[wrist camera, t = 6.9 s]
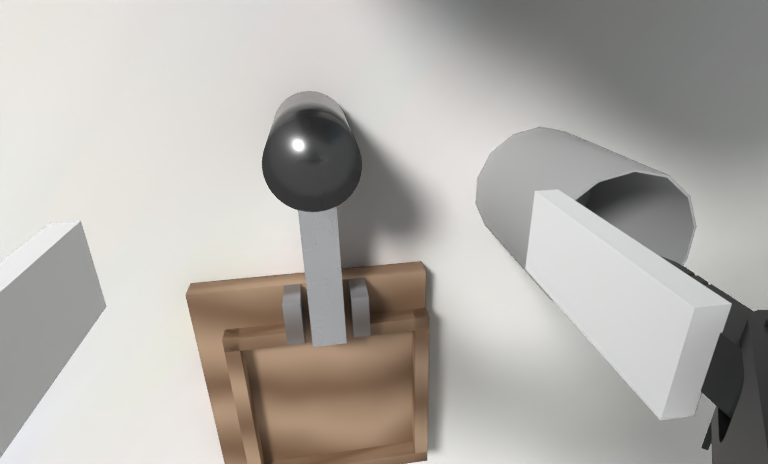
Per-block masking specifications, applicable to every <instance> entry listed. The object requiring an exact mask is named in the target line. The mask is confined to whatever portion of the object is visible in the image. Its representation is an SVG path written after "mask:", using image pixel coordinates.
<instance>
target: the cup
mask: <svg viewBox="0 0 768 464" xmlns="http://www.w3.org/2000/svg"><path fill="white" fill-rule="evenodd" d="M556 189H558V190H560V191H561V192H563V193H564V194H566V195H567V196H569V197H570V198H572V199H573V200H575V201H577V202H578V203H580V204H581V205H583V206H584V207H586V208H587V209H589V210H590V211H592V212H593V213H595V214H596V215H598V216H599V217H601V218H602V219H604V220H605V221H607V222H608V223H610V224H611V225H613V226H614V227H616V228H618V229H619V230H621V231H622V232H624V233H625V234H627V235H628V236H630V237H631V238H633V239H634V240H636V241H637V242H639V243H640V244H642V245H643V246H645V247H646V248H648V249H649V250H651V251H652V252H654V253H655V254H657V255H660V256H662V257H665V258H667V259H670V260H672V261H675V262H677V263H679V264H681V265H683V264H684V263H685V261H686V260H687V258H688V254H689V251H690V247H691V244H692V240H693V236H694V233H695V229H696V222H695V217H694V213H693V208H692V203H691V198H690V196H689V195H688V194H687V193H686V192H685V191H684V190H683V189H682V188H681V187H680V186H679V185H678V184H677V183H676V182H675V181H674V180H673V179H672V178H671V177H670V176H669V175H667V174H664V173H662V172H660V171H657V170H655V169H653V168H650V167H648V166H645V165H643V164H641V163H638V162H636V161H634V160H631V159H629V158H626V157H624V156H622V155H619V154H617V153H615V152H612V151H610V150H607V149H605V148H603V147H600V146H598V145H596V144H593V143H591V142H588V141H586V140H584V139H581V138H579V137H577V136H574V135H572V134H569V133H567V132H564V131H559V130H554V129H549V128H544V127H538V128H534V129H531V130H527V131H524V132H520V133H516V134H513V135H512V136H511V137H510V138H508V139H507V140H506V141H505V142H503V143H502V144H501V145H500V146H499V147H497V148H496V149H495V150H494V151H492V152H491V153H490V155H489V157H488V159H487V161H486V163H485V165H484V166H483V168H482V170H481V172H480V174H479V176H478V178H477V190H476V206H477V208H478V210H479V213H480V215H481V217H482V219H483V222H484V224H485V226H486V227H487V228H488V229H489V230H490V231H491V232H492V234H493V235H494V236H495V237H496V238H497V239H498V240H499V241H500V243H501V244H502V245H503V246H504V247H505V248H506V249H507V251H508V252H509V253H510V254H511V255H512V256H513V257H514V258H515V260H516V261H517V262H518V263H519V264H520V265H521V266H522V267H523V269H524V270H525V271H526V269H525V267H526V259H527V251H528V243H529V234H530V226H531V218H532V210H533V202H534V194H535V191H541V190H556ZM526 272H527V271H526ZM527 273H528V272H527ZM528 274H529V273H528ZM529 275H530V274H529ZM530 276H531V275H530ZM531 278H532V279H533V280H534V278H533V277H532V276H531ZM534 281H535V280H534ZM535 282H536V281H535ZM536 283H537V282H536ZM537 284H538V283H537ZM538 286H539V287H540V288H541V289H542V290H543V288H542V287H541V286H540V285H539V284H538ZM543 291H544V290H543ZM544 292H545V291H544ZM545 293H546V292H545ZM546 295H547V296H548V297H549V298H550V299H551V297H550V296H549V295H548V294H547V293H546ZM551 300H552V299H551ZM552 301H553V300H552Z"/></svg>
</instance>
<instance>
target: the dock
mask: <svg viewBox="0 0 768 464" xmlns="http://www.w3.org/2000/svg"><path fill="white" fill-rule="evenodd" d="M341 272H342V286H343V300H344V313H345V327H346V341H347V343H345V344H336V345H328V346H319V347H313V342H312V333H311V324H310V314H309V305H308V296H307V287H306V278H305V273H294V274H284V275H273V276H263V277H252V278H242V279H232V280H221V281H211V282H200V283H191V284H190V286H189V288H188V291H187V293H186V299H187V303H188V308H189V312H190V316H191V320H192V325H193V329H194V333H195V338H196V342H197V346H198V351H199V355H200V359H201V363H202V368H203V372H204V376H205V381H206V385H207V389H208V393H209V398H210V402H211V406H212V411H213V415H214V419H215V423H216V428H217V432H218V436H219V441H220V445H221V449H222V454H223V458H224V462H225V464H406V463H413V462H420V461H426V460H427V437H428V374H429V315H428V313H427V310H426V308H425V303H426V271H425V268H424V266H423V264H422V262H421V261H420V262H409V263H399V264H388V265H378V266H368V267H357V268H347V269H341Z"/></svg>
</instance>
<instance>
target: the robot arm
mask: <svg viewBox="0 0 768 464" xmlns="http://www.w3.org/2000/svg"><path fill="white" fill-rule="evenodd" d="M525 269H526V271H527V272H528V273H529V274H530V275H531V276H532V277H533V278H534V280H535V281H536V282H537V283H538V284H539V285H540V286H541V287H542V288H543V290H544V291H545V292H546V293H547V294H548V295H549V296H550V297H551V299H552V300H553V301H554V302H555V303H556V304H557V305H558V306H559V307H560V309H561V310H562V311H563V312H564V313H565V314H566V315H567V316H568V318H569V319H570V320H571V321H572V322H573V323H574V324H575V325H576V327H577V328H578V329H579V330H580V331H581V332H582V333H583V334H584V335H585V337H586V338H587V339H588V340H589V341H590V342H591V343H592V344H593V346H594V347H595V348H596V349H597V350H598V351H599V352H600V353H601V354H602V356H603V357H604V358H605V359H606V360H607V361H608V362H609V363H610V365H611V366H612V367H613V368H614V369H615V370H616V371H617V372H618V373H619V375H620V376H621V377H622V378H623V379H624V380H625V381H626V382H627V384H628V385H629V386H630V387H631V388H632V389H633V390H634V391H635V393H636V394H637V395H638V396H639V397H640V398H641V399H642V400H643V401H644V403H645V404H646V405H647V406H648V407H649V408H650V409H651V410H652V412H653V413H654V414H655V415H656V416H657V417H658V418H659V419H660V420H661V421H662V420H669V419H676V418H684V417H691V416H694V415H695V412H696V409H697V406H698V403H699V400H700V397H701V394H702V393H703V394H705V395H706V396H707V397H708V398H709V399H710V400H711V401H712V402H713V403H714V404H715V405H716V409H715V412H714V414H713V417H712V420H711V423H710V425H709V428H708V431H707V434H706V437H705V439H704V442H703V445H702V448H703V449H706V450H708V449H709V446H710V444H711V443H712V464H768V310H757V311H755V312H754V311H752V310H750V309H749V308H747V307H746V306H744V305H743V304H741V303H740V302H738V301H737V300H735V299H733V298H732V297H730V296H729V295H727V294H726V293H724V292H723V291H721V290H719V289H718V288H716V287H715V286H713V285H712V284H711V285H708V282H707V281H705V280H704V279H702V278H701V277H699V276H698V275H697V276H695V275H694V273H693V272H691V271H690V270H688V269H687V268H685V267H684V266H682V265H681V264H679V263H677V262H675V261H672V260H670V259H667V258H665V257H662V256H660V255H657V254H655V253H654V252H652V251H651V250H649V249H648V248H646V247H645V246H643V245H642V244H640V243H639V242H637V241H636V240H634V239H633V238H631V237H630V236H628V235H627V234H625V233H624V232H622V231H621V230H619V229H618V228H616V227H614V226H613V225H611V224H610V223H608V222H607V221H605V220H604V219H602V218H601V217H599V216H598V215H596V214H595V213H593V212H592V211H590V210H589V209H587V208H586V207H584V206H583V205H581V204H580V203H578V202H577V201H575V200H573V199H572V198H570V197H569V196H567V195H566V194H564V193H563V192H561V191H560V190H558V189H556V190H541V191H535V194H534V202H533V210H532V218H531V226H530V234H529V243H528V251H527V259H526V267H525ZM105 308H106V304H105V300H104V297H103V294H102V290H101V287H100V284H99V280H98V277H97V274H96V270H95V267H94V264H93V260H92V257H91V254H90V250H89V247H88V243H87V240H86V237H85V233H84V230H83V227H82V223H81V221H71V222H56V223H50V224H48V225H47V226H46V227H44V228H43V229H42V230H41V231H39V232H38V233H37V234H36V235H34V236H33V237H32V238H31V239H29V240H28V241H27V242H25V243H24V244H23V245H22V246H20V247H19V248H18V249H17V250H15V251H14V252H13V253H11V254H10V255H9V256H8V257H6V258H5V259H4V260H3V261H1V262H0V458H1V456H2V455H3V453H4V452H5V450H6V449H7V448H8V446H9V445H10V443H11V442H12V440H13V439H14V438H15V436H16V435H17V433H18V432H19V430H20V429H21V428H22V426H23V425H24V423H25V422H26V420H27V419H28V418H29V416H30V415H31V413H32V412H33V410H34V409H35V408H36V406H37V405H38V403H39V402H40V400H41V399H42V398H43V396H44V395H45V393H46V392H47V390H48V389H49V388H50V386H51V385H52V383H53V382H54V380H55V379H56V378H57V376H58V375H59V373H60V372H61V370H62V369H63V368H64V366H65V365H66V363H67V362H68V360H69V359H70V358H71V356H72V355H73V353H74V352H75V350H76V349H77V348H78V346H79V345H80V343H81V342H82V340H83V339H84V338H85V336H86V335H87V333H88V332H89V331H90V329H91V328H92V326H93V325H94V323H95V322H96V321H97V319H98V318H99V316H100V315H101V313H102V312H103V311H104V309H105Z"/></svg>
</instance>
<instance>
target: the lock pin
mask: <svg viewBox="0 0 768 464" xmlns="http://www.w3.org/2000/svg"><path fill="white" fill-rule="evenodd" d="M262 170H263V175H264V178H265V181H266V183H267V185H268V187H269V189H270V190H271V192H272V193H273V194H274V195H275V196H276V197H277V198H278V199H279V200H280V201H281V202H283V203H284V204H286V205H287V206H289V207H291V208H294V209H297V210H298V213H299V223H300V232H301V241H302V250H303V259H304V269H305V278H306V287H307V296H308V305H309V314H310V324H311V333H312V342H313V347H319V346H328V345H336V344H345V343H347V341H346V327H345V313H344V300H343V286H342V272H341V258H340V244H339V230H338V217H337V206H338V205H340V204H341V203H342V202H344V201H345V200H346V199H347V198H348V197H349V196H350V195H351V194H352V193H353V191H354V190H355V188H356V186H357V184H358V182H359V179H360V176H361V170H362V161H361V155H360V151H359V148H358V146H357V143H356V141H355V139H354V136H353V134H352V131H351V129H350V127H349V124H348V122H347V120H346V117H345V115H344V113H343V111H342V109H341V108H340V106H339V105H338V104H337V103H336V102H335V101H334V100H333V99H331V98H330V97H328V96H326V95H324V94H322V93H318V92H311V91H307V92H301V93H297V94H295V95H292V96H291V97H289V98H288V99H286V100H285V101H284V102H283V103H282V104H281V106H280V107H279V108H278V110H277V112H276V115H275V118H274V121H273V124H272V127H271V130H270V133H269V136H268V139H267V142H266V145H265V149H264V152H263V157H262Z"/></svg>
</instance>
